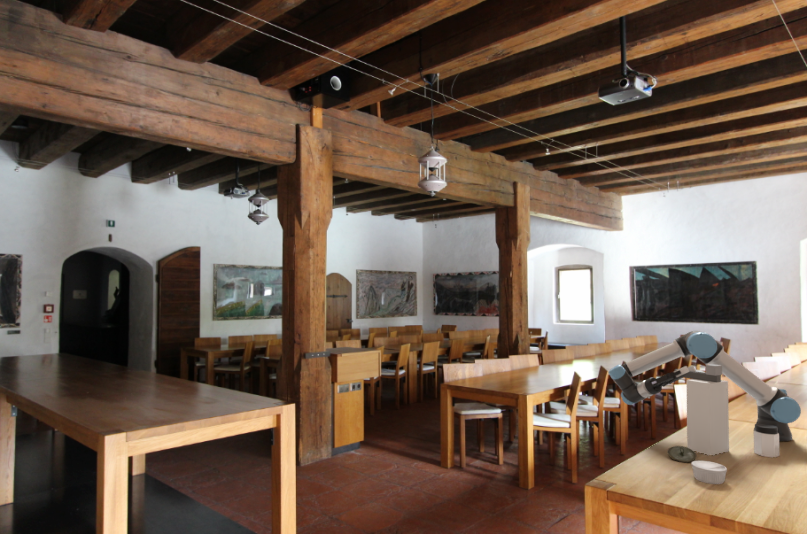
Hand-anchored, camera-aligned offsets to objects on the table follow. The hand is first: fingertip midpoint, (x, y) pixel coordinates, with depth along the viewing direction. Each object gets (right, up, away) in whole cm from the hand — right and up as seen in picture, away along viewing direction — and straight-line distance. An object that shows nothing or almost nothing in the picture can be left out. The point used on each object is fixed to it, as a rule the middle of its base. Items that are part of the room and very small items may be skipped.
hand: (690, 368), depth 235 cm
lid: (-15, -33, -20) cm, 42 cm away
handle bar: (+1, -4, -3) cm, 5 cm away
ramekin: (-17, -32, -44) cm, 57 cm away
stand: (+3, -34, -8) cm, 35 cm away
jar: (+25, -34, -12) cm, 44 cm away
